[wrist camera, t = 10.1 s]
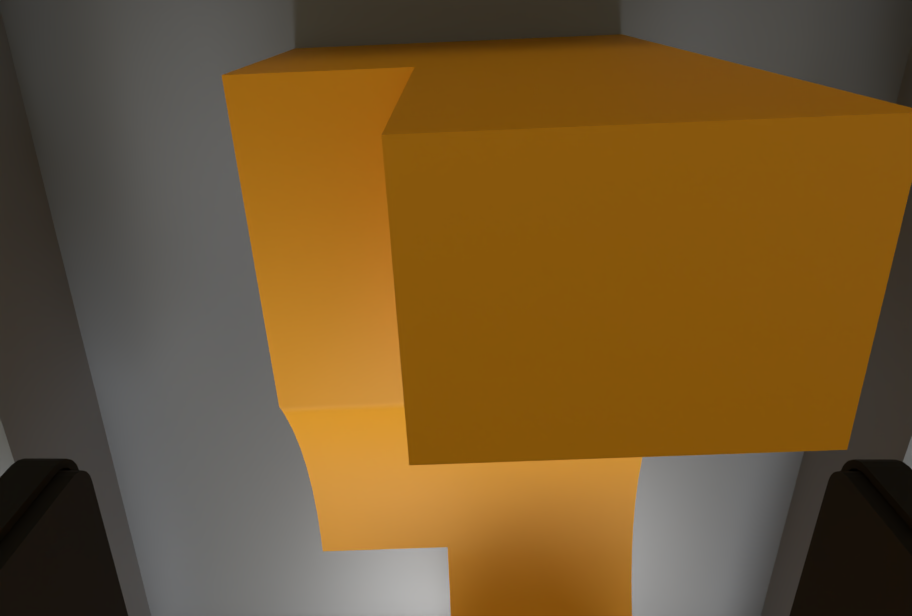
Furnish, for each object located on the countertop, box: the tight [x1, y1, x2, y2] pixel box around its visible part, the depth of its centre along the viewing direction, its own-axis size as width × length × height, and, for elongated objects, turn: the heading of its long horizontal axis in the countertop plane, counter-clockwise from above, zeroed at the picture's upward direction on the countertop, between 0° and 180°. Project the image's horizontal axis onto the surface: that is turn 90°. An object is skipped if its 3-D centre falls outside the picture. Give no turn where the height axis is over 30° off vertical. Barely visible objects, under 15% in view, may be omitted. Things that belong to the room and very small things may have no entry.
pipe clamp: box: [222, 34, 912, 616], centre depth 9 cm, size 12×4×6 cm, turn 2°
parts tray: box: [0, 0, 912, 616], centre depth 11 cm, size 14×17×3 cm
